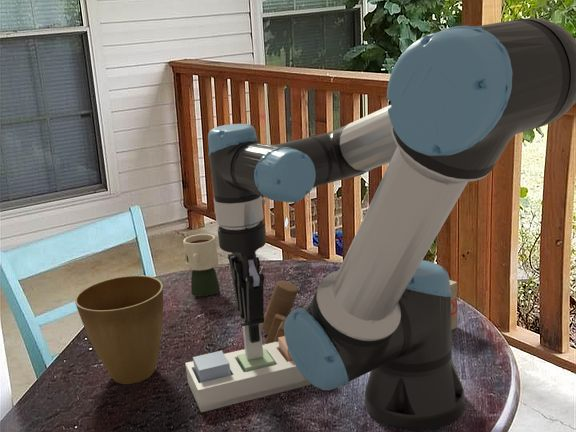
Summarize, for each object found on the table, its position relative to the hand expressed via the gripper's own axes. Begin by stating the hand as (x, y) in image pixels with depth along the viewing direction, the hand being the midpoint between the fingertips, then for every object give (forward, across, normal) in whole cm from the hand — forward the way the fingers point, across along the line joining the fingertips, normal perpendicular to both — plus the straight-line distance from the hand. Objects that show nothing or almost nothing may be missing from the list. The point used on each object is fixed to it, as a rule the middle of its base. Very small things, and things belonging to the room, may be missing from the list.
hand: (254, 356), depth 124 cm
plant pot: (+5, +13, +19) cm, 24 cm away
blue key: (+2, 0, +7) cm, 8 cm away
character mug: (+5, +43, -1) cm, 43 cm away
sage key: (+4, 0, 0) cm, 4 cm away
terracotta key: (+2, 0, -8) cm, 8 cm away
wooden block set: (+5, +13, -10) cm, 17 cm away
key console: (+5, 0, 0) cm, 5 cm away
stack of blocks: (+5, +11, -34) cm, 36 cm away
